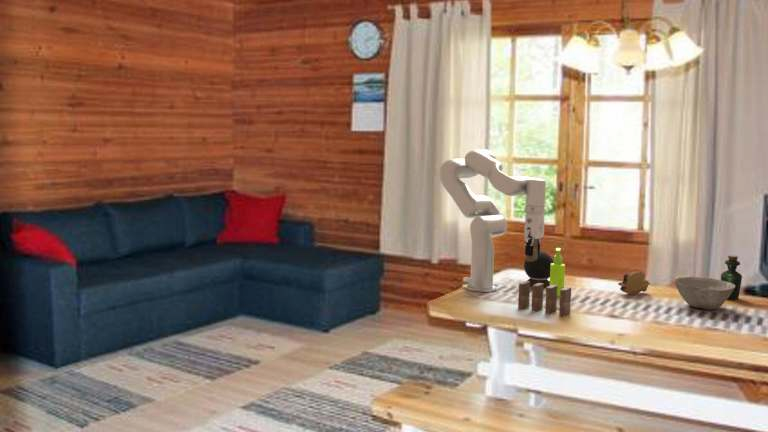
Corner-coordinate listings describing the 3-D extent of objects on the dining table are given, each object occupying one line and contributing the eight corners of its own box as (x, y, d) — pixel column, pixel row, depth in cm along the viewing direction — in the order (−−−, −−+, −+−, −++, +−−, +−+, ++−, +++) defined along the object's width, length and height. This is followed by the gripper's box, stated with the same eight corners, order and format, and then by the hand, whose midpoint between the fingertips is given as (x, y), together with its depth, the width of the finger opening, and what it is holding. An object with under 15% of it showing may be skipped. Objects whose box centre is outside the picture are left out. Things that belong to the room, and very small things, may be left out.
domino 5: (559, 315, 279) (560, 289, 278) (564, 312, 284) (566, 286, 283) (564, 316, 278) (565, 290, 277) (570, 313, 283) (571, 287, 282)
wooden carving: (640, 291, 323) (642, 268, 322) (649, 293, 320) (651, 270, 318) (615, 295, 314) (616, 271, 313) (624, 297, 311) (625, 273, 309)
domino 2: (526, 261, 298) (528, 236, 297) (532, 258, 303) (534, 234, 302) (531, 261, 297) (532, 236, 296) (537, 259, 302) (538, 235, 301)
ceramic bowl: (703, 316, 281) (705, 290, 280) (659, 302, 303) (661, 278, 301) (747, 312, 290) (749, 287, 288) (701, 298, 311) (703, 275, 310)
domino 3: (531, 311, 285) (532, 285, 284) (537, 308, 290) (538, 282, 289) (536, 311, 284) (537, 286, 283) (542, 308, 289) (543, 283, 288)
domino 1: (518, 308, 288) (519, 283, 287) (524, 305, 293) (525, 280, 292) (522, 309, 287) (524, 284, 286) (529, 306, 292) (530, 281, 291)
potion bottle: (729, 295, 318) (733, 253, 316) (744, 299, 310) (748, 257, 308) (714, 296, 315) (717, 254, 313) (729, 301, 308) (732, 258, 305)
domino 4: (545, 313, 282) (546, 287, 281) (551, 310, 287) (552, 284, 286) (550, 314, 281) (551, 288, 280) (556, 311, 286) (557, 285, 285)
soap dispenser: (548, 296, 309) (550, 248, 307) (549, 293, 316) (551, 246, 313) (562, 297, 308) (565, 249, 305) (564, 294, 314) (566, 247, 312)
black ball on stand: (559, 287, 327) (560, 253, 325) (531, 288, 324) (532, 254, 322) (544, 281, 340) (546, 248, 338) (518, 282, 336) (519, 249, 335)
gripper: (535, 212, 288) (532, 258, 291) (551, 208, 303) (549, 252, 305) (517, 210, 292) (514, 256, 295) (534, 206, 307) (531, 250, 309)
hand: (532, 253), depth 300 cm, fingers closed on domino 2, 5 cm apart
